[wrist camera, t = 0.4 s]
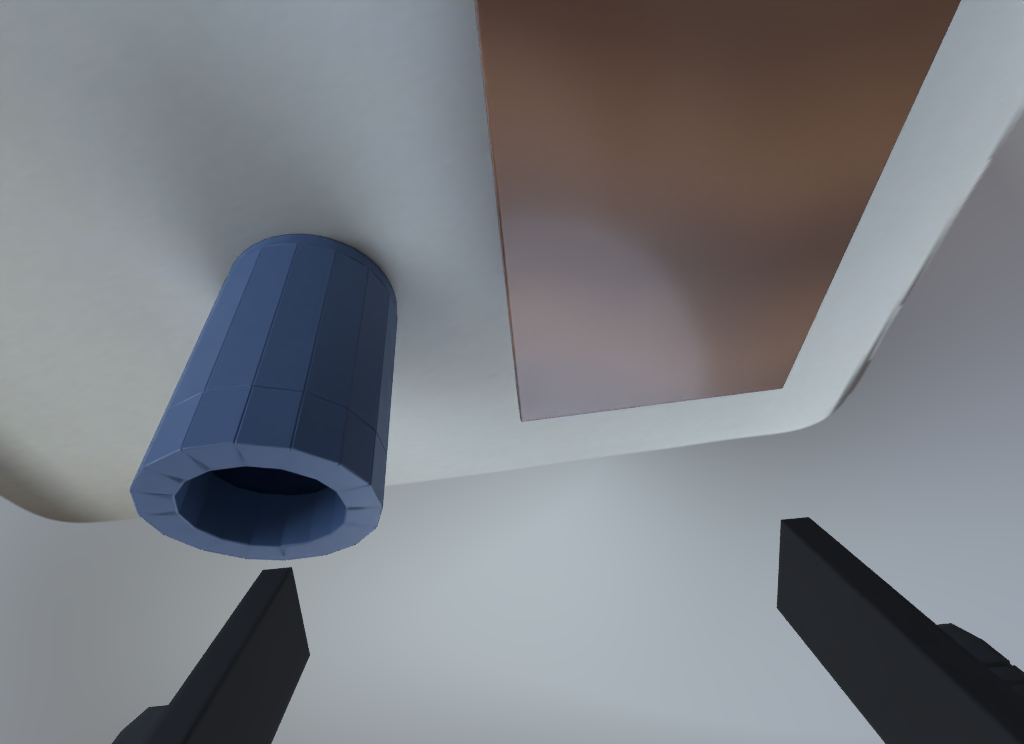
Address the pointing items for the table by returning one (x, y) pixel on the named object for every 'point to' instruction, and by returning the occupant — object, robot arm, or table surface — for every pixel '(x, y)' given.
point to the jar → (279, 409)
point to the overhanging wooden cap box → (684, 181)
